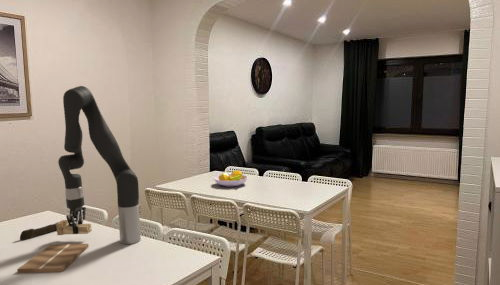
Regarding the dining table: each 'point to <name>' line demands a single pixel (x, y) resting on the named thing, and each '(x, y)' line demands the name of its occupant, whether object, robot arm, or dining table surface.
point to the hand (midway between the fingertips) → (78, 231)
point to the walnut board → (53, 258)
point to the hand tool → (37, 231)
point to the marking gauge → (66, 229)
